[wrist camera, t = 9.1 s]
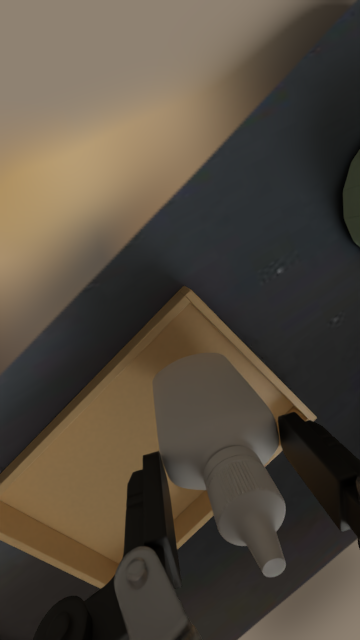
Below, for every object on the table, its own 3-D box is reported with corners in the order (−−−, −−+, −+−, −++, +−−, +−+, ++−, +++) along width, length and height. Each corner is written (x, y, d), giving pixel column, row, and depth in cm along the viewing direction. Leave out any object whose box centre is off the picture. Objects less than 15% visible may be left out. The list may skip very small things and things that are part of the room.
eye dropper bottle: (219, 406, 20) (334, 618, 8) (147, 398, 18) (160, 630, 7) (233, 354, 19) (384, 506, 7) (159, 342, 18) (195, 500, 6)
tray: (183, 285, 19) (190, 289, 17) (297, 399, 23) (317, 417, 21) (-15, 488, 21) (-38, 522, 18) (125, 563, 25) (123, 600, 22)
